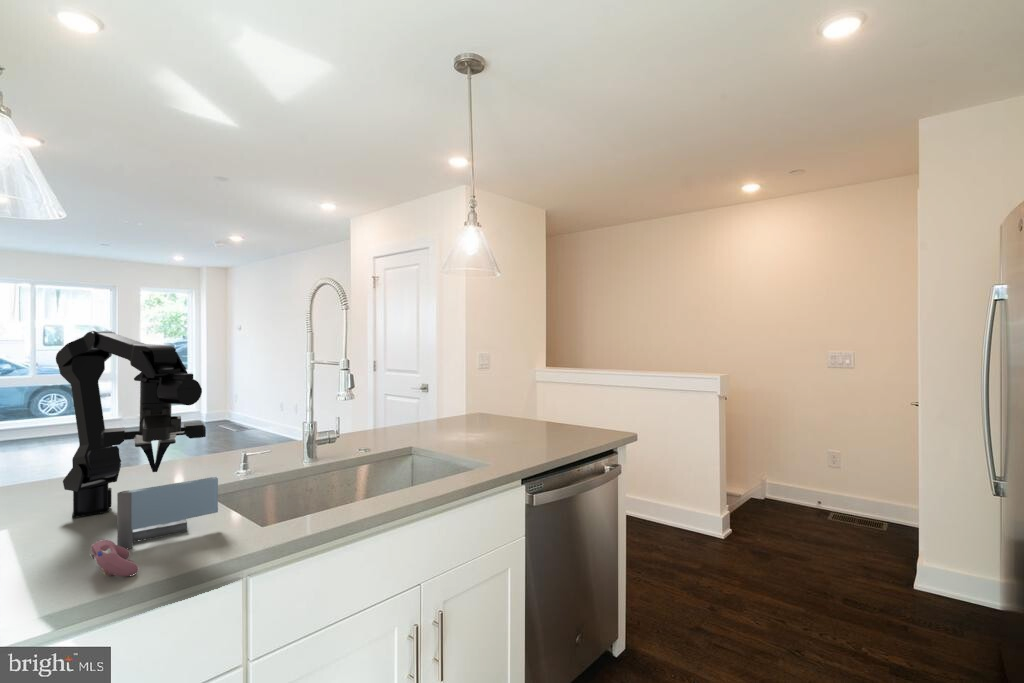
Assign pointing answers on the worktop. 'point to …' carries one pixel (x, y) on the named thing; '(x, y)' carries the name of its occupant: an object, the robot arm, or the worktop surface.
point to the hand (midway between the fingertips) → (154, 471)
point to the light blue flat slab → (163, 505)
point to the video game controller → (113, 558)
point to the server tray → (160, 530)
